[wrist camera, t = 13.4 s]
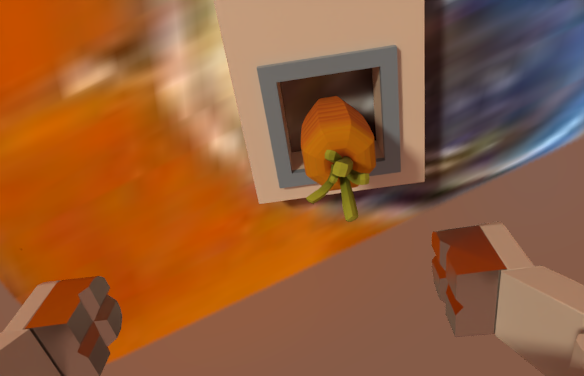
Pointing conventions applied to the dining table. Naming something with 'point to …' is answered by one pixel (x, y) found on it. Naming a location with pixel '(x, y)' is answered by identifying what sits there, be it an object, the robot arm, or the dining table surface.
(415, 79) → the duct block
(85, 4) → the dining table surface
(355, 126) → the carrot
